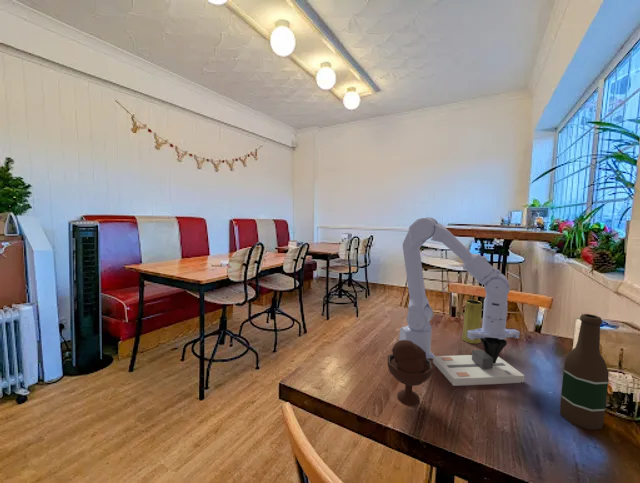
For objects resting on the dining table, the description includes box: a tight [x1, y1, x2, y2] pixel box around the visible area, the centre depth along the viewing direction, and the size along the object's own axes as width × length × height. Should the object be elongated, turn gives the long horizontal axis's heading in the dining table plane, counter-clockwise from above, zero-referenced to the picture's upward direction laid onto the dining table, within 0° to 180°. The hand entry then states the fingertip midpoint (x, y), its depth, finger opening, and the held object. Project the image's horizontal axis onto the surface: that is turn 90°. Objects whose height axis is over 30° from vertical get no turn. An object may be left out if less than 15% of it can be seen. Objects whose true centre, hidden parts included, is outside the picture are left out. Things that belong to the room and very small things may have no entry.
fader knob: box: [471, 349, 493, 369], centre depth 85 cm, size 3×5×3 cm, turn 5°
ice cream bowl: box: [387, 340, 434, 406], centre depth 73 cm, size 11×11×15 cm
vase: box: [461, 299, 483, 345], centre depth 105 cm, size 6×6×14 cm
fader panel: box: [432, 354, 526, 387], centre depth 85 cm, size 20×12×2 cm, turn 95°
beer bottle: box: [559, 313, 609, 431], centre depth 65 cm, size 8×8×24 cm
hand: (491, 361), depth 85 cm, fingers closed
